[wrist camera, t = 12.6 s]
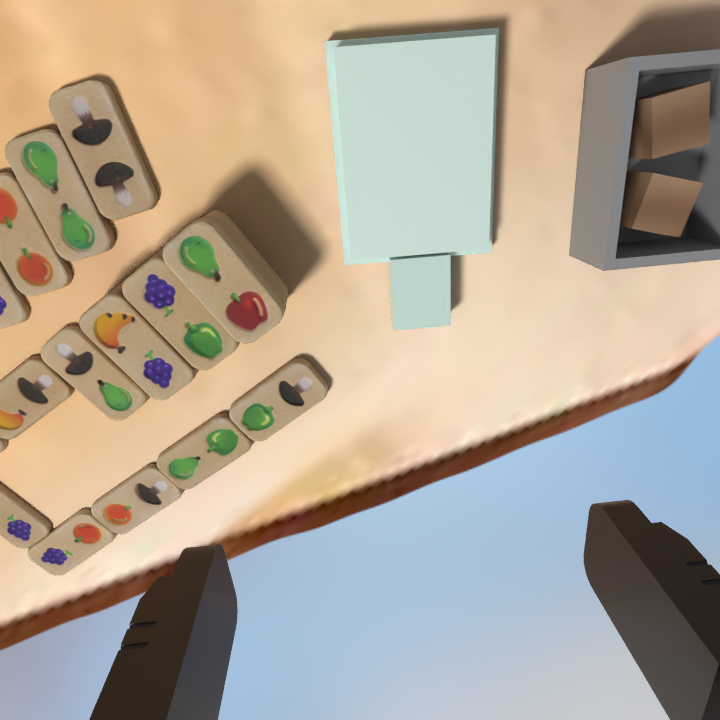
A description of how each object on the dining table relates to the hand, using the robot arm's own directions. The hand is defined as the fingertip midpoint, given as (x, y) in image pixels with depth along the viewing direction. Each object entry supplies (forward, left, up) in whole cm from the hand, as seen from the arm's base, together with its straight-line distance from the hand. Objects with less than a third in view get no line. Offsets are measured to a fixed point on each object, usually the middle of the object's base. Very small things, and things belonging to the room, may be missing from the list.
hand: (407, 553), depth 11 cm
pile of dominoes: (+6, -22, -28) cm, 37 cm away
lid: (-5, +5, -28) cm, 28 cm away
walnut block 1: (-8, +21, -27) cm, 35 cm away
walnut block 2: (-3, +21, -27) cm, 34 cm away
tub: (-5, +21, -28) cm, 35 cm away
